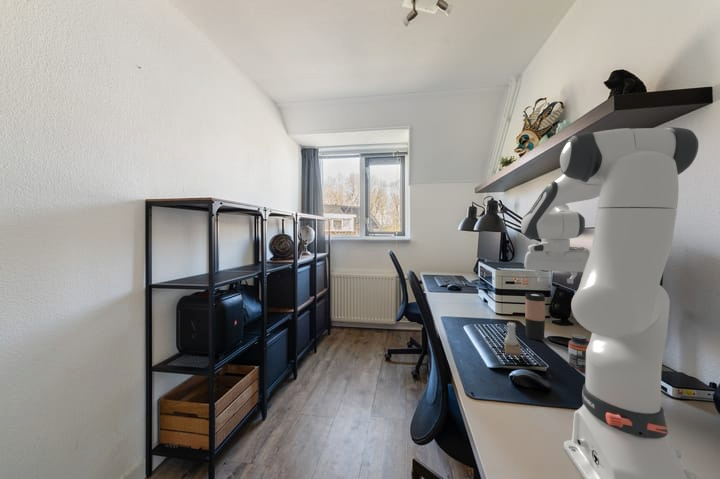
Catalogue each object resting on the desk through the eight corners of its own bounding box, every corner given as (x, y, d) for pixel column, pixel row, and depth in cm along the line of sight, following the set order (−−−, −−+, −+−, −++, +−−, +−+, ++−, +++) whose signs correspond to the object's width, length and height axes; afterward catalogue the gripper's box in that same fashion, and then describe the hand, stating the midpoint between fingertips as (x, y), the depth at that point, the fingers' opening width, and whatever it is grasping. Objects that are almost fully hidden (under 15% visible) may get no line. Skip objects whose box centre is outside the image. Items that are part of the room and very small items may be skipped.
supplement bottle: (581, 363, 97) (582, 333, 97) (594, 372, 91) (595, 339, 91) (564, 363, 98) (564, 332, 97) (576, 371, 92) (576, 339, 91)
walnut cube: (520, 360, 99) (520, 347, 99) (505, 358, 101) (505, 345, 101) (518, 354, 103) (518, 342, 103) (504, 352, 105) (504, 340, 105)
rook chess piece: (519, 346, 99) (520, 325, 99) (507, 345, 100) (507, 324, 100) (515, 341, 104) (515, 321, 104) (503, 340, 105) (503, 320, 104)
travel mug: (521, 335, 124) (521, 293, 124) (531, 332, 128) (531, 291, 127) (538, 341, 118) (538, 296, 117) (548, 338, 121) (548, 295, 120)
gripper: (586, 246, 100) (585, 283, 100) (523, 246, 109) (523, 279, 109) (592, 247, 94) (592, 286, 95) (526, 246, 103) (525, 282, 103)
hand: (554, 282), depth 102 cm, fingers open, 8 cm apart
